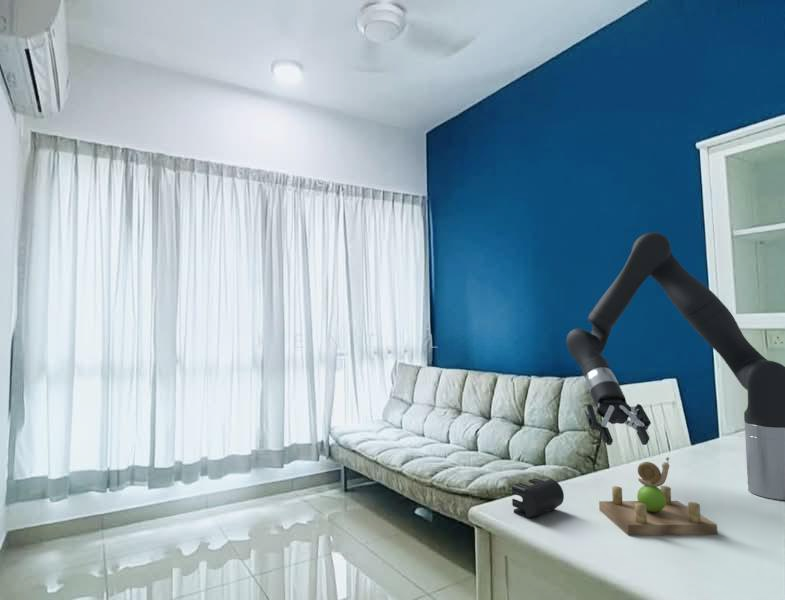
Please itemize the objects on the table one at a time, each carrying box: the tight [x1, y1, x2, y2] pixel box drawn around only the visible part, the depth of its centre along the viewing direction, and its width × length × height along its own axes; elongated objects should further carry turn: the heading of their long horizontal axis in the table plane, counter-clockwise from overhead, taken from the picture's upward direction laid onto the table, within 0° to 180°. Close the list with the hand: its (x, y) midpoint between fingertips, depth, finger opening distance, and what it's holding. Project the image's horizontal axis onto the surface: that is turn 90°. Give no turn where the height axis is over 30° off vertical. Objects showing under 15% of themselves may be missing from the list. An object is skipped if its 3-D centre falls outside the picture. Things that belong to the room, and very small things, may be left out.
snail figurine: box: [636, 456, 670, 512], centre depth 101 cm, size 5×6×12 cm
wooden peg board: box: [598, 485, 718, 536], centre depth 100 cm, size 18×13×6 cm
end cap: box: [511, 477, 565, 519], centre depth 106 cm, size 10×7×7 cm
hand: (628, 443), depth 111 cm, fingers open, 8 cm apart
